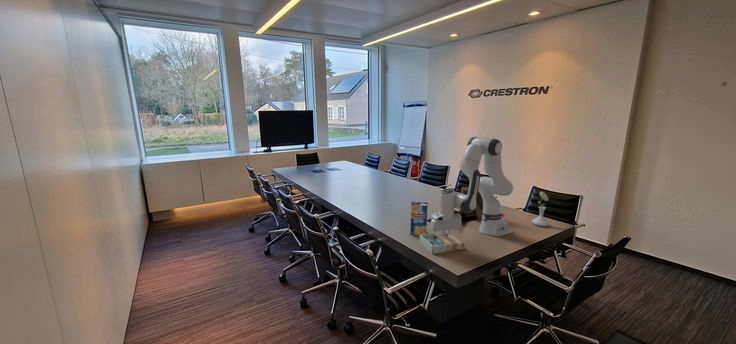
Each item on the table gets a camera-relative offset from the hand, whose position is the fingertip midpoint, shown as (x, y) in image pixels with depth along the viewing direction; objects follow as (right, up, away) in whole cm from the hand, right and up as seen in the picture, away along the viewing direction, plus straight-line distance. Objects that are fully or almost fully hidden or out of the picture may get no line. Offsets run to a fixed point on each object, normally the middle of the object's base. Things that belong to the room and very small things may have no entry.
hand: (445, 236), depth 189 cm
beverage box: (-13, -3, +24) cm, 27 cm away
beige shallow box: (+3, -7, +6) cm, 10 cm away
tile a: (-10, -4, +6) cm, 12 cm away
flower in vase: (+81, 0, +39) cm, 90 cm away
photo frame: (+37, +3, +54) cm, 65 cm away
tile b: (-3, -5, -1) cm, 6 cm away
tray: (-8, -7, +3) cm, 11 cm away
